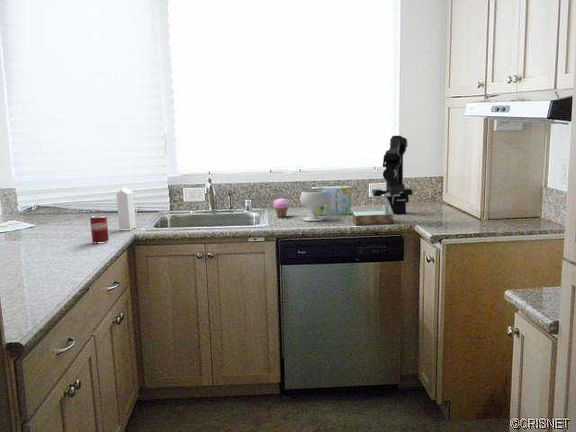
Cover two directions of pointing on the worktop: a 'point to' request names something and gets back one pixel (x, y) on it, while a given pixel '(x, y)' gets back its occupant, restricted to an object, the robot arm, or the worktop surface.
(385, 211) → the lid
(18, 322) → the worktop surface
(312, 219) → the chalice
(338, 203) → the snack box
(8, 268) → the worktop surface
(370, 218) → the walnut box
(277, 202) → the cupcake
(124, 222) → the milk
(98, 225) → the soda can
